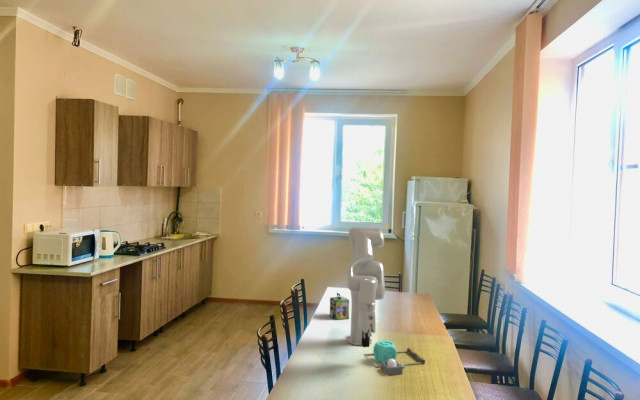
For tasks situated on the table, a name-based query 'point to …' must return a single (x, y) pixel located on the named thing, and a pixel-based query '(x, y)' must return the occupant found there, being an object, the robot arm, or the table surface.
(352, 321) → the robot arm
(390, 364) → the white ball
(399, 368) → the collar
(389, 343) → the decorative dice
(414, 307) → the table surface
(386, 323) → the table surface
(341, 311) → the chalk box
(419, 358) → the lane
